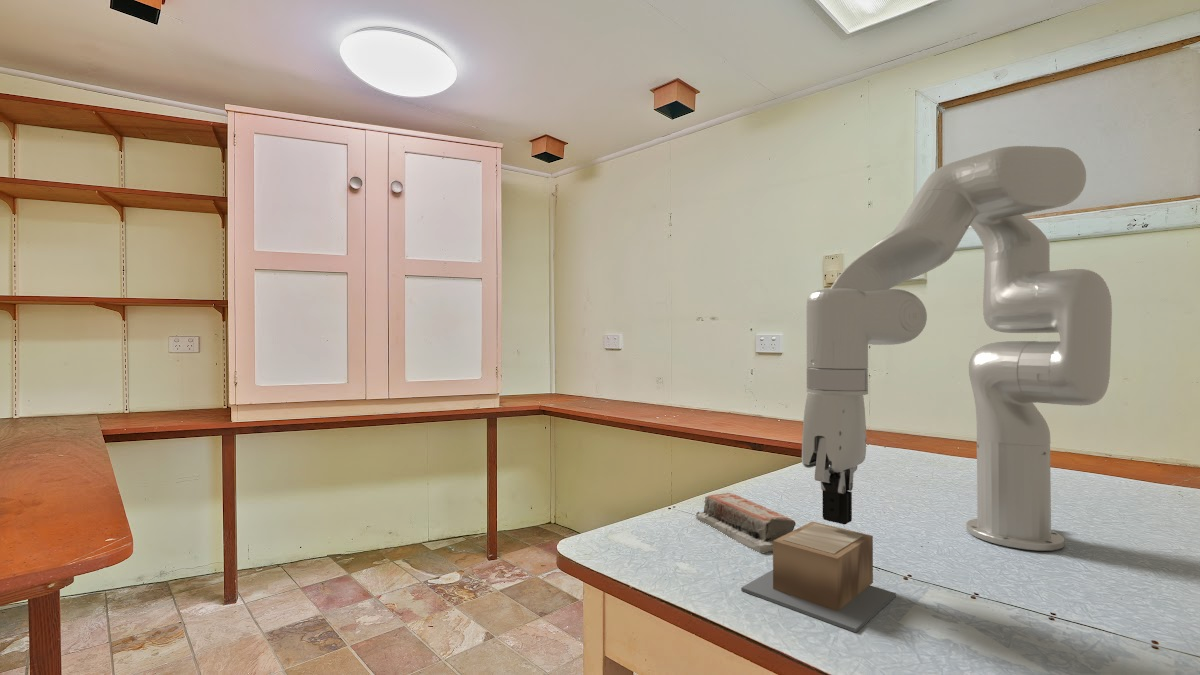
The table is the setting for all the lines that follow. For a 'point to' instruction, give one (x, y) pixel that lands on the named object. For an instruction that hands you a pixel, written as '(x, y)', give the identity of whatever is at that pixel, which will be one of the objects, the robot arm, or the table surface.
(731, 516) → the packaged product
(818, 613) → the mat
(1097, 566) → the table surface
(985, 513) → the robot arm
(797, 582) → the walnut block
